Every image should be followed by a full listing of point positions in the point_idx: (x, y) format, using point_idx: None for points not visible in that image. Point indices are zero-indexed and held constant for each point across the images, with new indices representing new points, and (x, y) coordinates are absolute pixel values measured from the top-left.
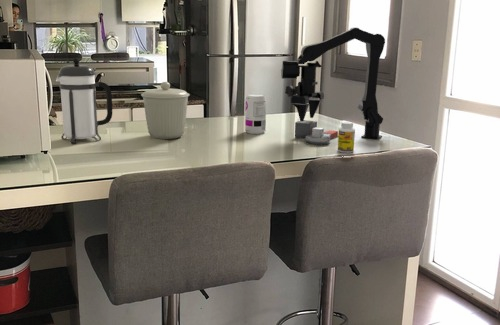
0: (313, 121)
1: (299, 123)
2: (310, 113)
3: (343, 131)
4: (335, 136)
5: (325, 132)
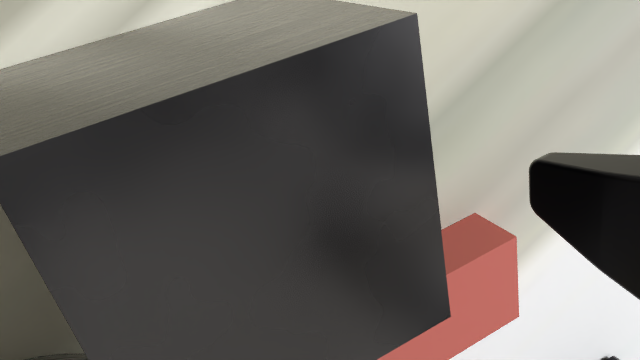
0: (418, 284)
1: (44, 269)
2: (618, 198)
3: None
4: None
5: None
